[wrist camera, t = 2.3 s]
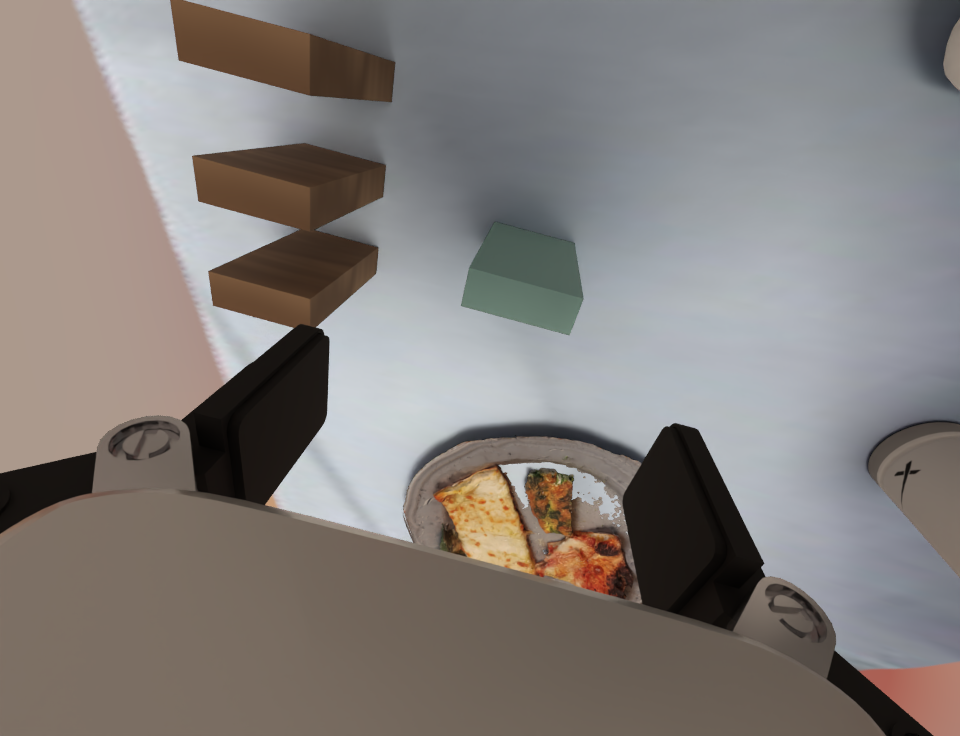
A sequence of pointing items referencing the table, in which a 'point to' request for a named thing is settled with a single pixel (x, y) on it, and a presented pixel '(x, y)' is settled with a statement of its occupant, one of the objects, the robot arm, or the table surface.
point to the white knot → (953, 57)
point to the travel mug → (925, 482)
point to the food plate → (527, 512)
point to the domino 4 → (525, 279)
